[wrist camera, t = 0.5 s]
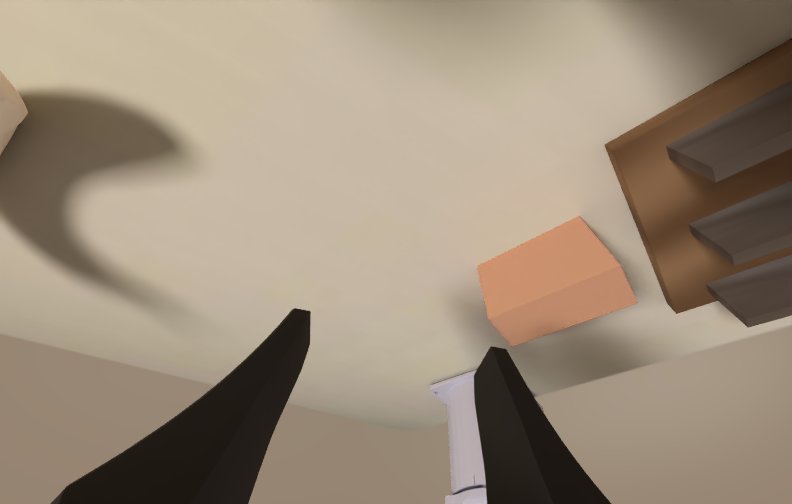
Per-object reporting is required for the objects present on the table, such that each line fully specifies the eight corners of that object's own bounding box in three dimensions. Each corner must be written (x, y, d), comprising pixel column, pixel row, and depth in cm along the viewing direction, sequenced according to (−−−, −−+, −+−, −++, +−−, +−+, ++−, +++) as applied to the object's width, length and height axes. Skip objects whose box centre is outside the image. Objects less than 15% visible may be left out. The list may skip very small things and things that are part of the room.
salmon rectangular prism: (594, 248, 20) (637, 302, 16) (496, 291, 23) (511, 346, 19) (578, 215, 18) (620, 265, 14) (476, 265, 21) (488, 318, 17)
